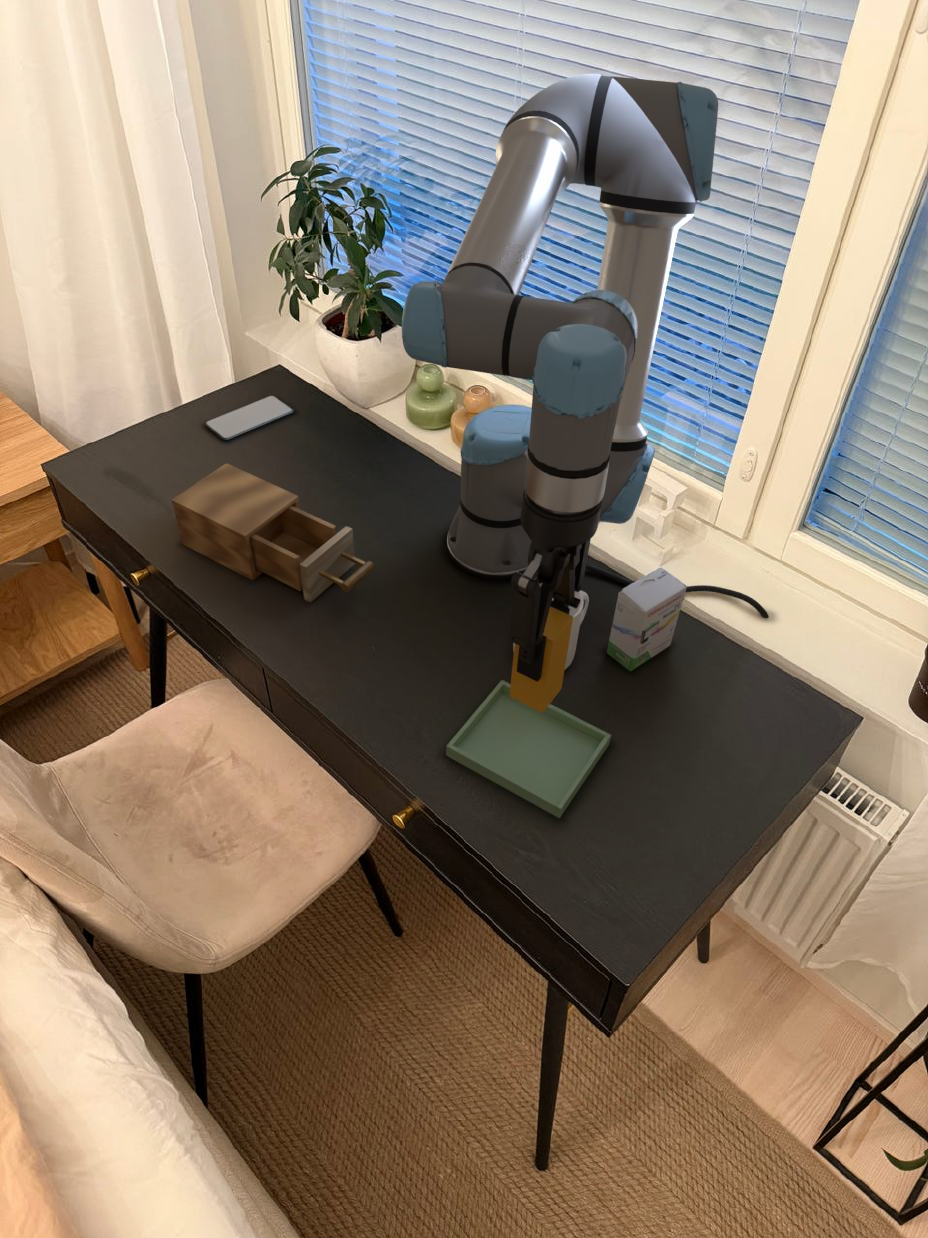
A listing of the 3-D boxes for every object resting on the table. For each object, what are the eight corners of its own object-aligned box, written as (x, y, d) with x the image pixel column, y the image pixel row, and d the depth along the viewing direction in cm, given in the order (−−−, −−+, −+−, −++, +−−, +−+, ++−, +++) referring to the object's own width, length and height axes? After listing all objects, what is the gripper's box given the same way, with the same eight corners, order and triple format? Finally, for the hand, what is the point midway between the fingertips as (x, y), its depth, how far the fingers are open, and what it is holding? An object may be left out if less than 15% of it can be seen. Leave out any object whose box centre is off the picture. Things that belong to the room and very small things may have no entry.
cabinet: (303, 539, 140) (298, 495, 134) (253, 580, 133) (244, 536, 127) (234, 506, 146) (226, 462, 139) (182, 544, 138) (171, 499, 132)
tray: (609, 744, 114) (611, 734, 112) (559, 818, 106) (561, 809, 104) (500, 689, 120) (501, 679, 118) (445, 755, 112) (446, 745, 110)
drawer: (384, 577, 133) (382, 542, 128) (340, 618, 127) (337, 582, 122) (287, 530, 140) (282, 496, 135) (240, 566, 134) (234, 531, 129)
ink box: (630, 673, 122) (645, 612, 114) (604, 652, 125) (617, 590, 117) (672, 645, 126) (689, 584, 118) (646, 625, 129) (661, 564, 121)
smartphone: (294, 409, 165) (224, 439, 158) (295, 412, 166) (225, 441, 158) (273, 394, 169) (203, 422, 161) (273, 396, 169) (204, 424, 162)
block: (561, 689, 105) (573, 616, 97) (542, 713, 102) (553, 641, 94) (528, 672, 107) (537, 600, 98) (509, 696, 104) (516, 623, 96)
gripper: (571, 437, 91) (549, 603, 107) (479, 526, 80) (470, 695, 97) (638, 462, 88) (605, 628, 105) (552, 557, 77) (530, 726, 94)
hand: (540, 660), depth 101 cm, fingers closed on block, 4 cm apart
